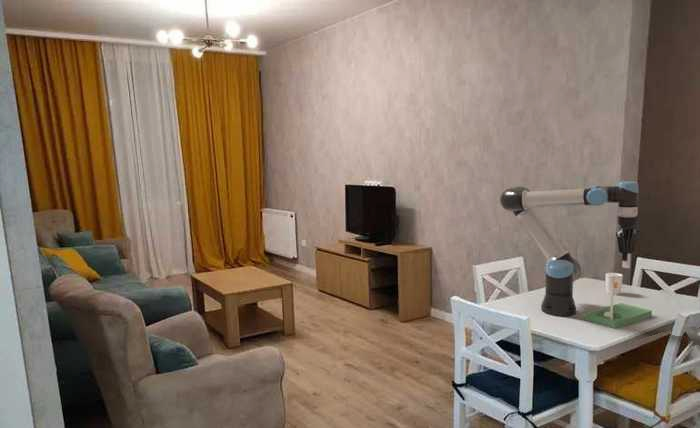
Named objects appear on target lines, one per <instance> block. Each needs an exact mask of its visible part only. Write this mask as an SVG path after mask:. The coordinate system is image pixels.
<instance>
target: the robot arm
mask: <svg viewBox="0 0 700 428" xmlns="http://www.w3.org/2000/svg"><path fill="white" fill-rule="evenodd" d="M499 202H500V205H501V207H502V208H503V209H504V210H505V211H509V212H512V213H513V214H514V216H515V218H519V219H520V220H521V221H522V223H523V224H524V226H525V227H526V228H527V230H528V232H529V233H530V235H531V236H532V238H533V239H534V241H535V243H536V244H537V246H538V247H539V249H540V250H541V251H542V253H543V254H544V256H545V258H546V259H547V261H546V264H545V294H544V296H543V299H542V303H541V305H540V306H541V308H540V309H541V310H540V311H542V312H543V313H545V314H548V315H552V316H558V317H570V316H574V315H576V314H577V306H576V303H575V300H574V297H573V292H574V283H575V281H577V280H578V279H579V277H580V276H581V273H582V265H581V263H580V262H579V260H577V259H575V258H574V257H573V256H572V254H570V252H569V251H567V250H564V249H563V247H562V246H561V244H560V243H559V242H558V240H557V238H556V237H555V236H554V234H553V232H552V231H551V229H550V228H549V227H548V225H547V223H545V221H544V219H543V218H542V216H541V215H540V213H539V212H538V210H537V208H548V207H551V208H552V207H574V206H575V207H576V206H578V207H580V206H595V207H600V206H603V205H604V204H606V203H608V204H611V203H613V204H614V203H615V204H617V203H618V211H617V216H618V217H617V224H618V225H619V226H620V227H619V231H618V232H615V235H616V238H617V247H618V252H619V253H620V254H622V255H621V256H622V257H621V258H622V259H621V260H622V262H621V263H622V265H621V267H622V268H624V269H631V257H632V254H634V252H635V249H636V243H637V238H638V234H639V230H638V229H637V230H636V226H637V225H638V217H637V216H638V211H639V209H638V208H639V183H638V182H637V181H620V182H619V184H618V185H617V186H609V185H607V186H606V185H602V186H601V185H597V186H595V185H592V186H590V187H589V188H575V189H574V188H573V189H571V188H570V189H556V190H554V189H553V190H538V191H537V190H536V191H534V190H530V189H529V188H527V187H524V186H514V187H510V188H507V189H505V190H504V191H503V192H502V193H501V195H500V198H499Z"/></svg>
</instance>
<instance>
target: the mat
mask: <svg viewBox="0 0 700 428" xmlns="http://www.w3.org/2000/svg"><path fill="white" fill-rule="evenodd" d="M652 311H653V310H651V309H648V308H647V309H646V308H642V307H638V306H634V305H630V304H627V303H622V302H620V303H619V302H618V303H615V304H613V321H610V317H606V316H603V314H604V313H605V312H610V305H609V306H606V307H603V308H599V309H595V310H592V311H588V312H586V313H583V320H586V321H589V322H592V323H595V324H598V325H602V326H606V327H609V328H612V329H617V328H620V327H624V326H626V325H629V324H632V323H633V324H634V323H635V322H637V321H638V322H639V321H641V320H644V319H648V318H650V317H652V316H653V314H652V313H653V312H652Z"/></svg>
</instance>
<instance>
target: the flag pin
mask: <svg viewBox="0 0 700 428" xmlns="http://www.w3.org/2000/svg"><path fill="white" fill-rule="evenodd" d="M614 288H617V282H616V283H611V294H610V305H609V306H610V321H613V305H614Z"/></svg>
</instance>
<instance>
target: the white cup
mask: <svg viewBox="0 0 700 428" xmlns="http://www.w3.org/2000/svg"><path fill="white" fill-rule="evenodd" d="M623 277H624V276H623V274H622V273H617V272H606V273H605V292H606V293H607V294H609V295H611V283H616V282H617V288H614V295H615V296H618V294H619V295H621V294H622V286H623ZM614 295H613V296H614Z"/></svg>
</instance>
